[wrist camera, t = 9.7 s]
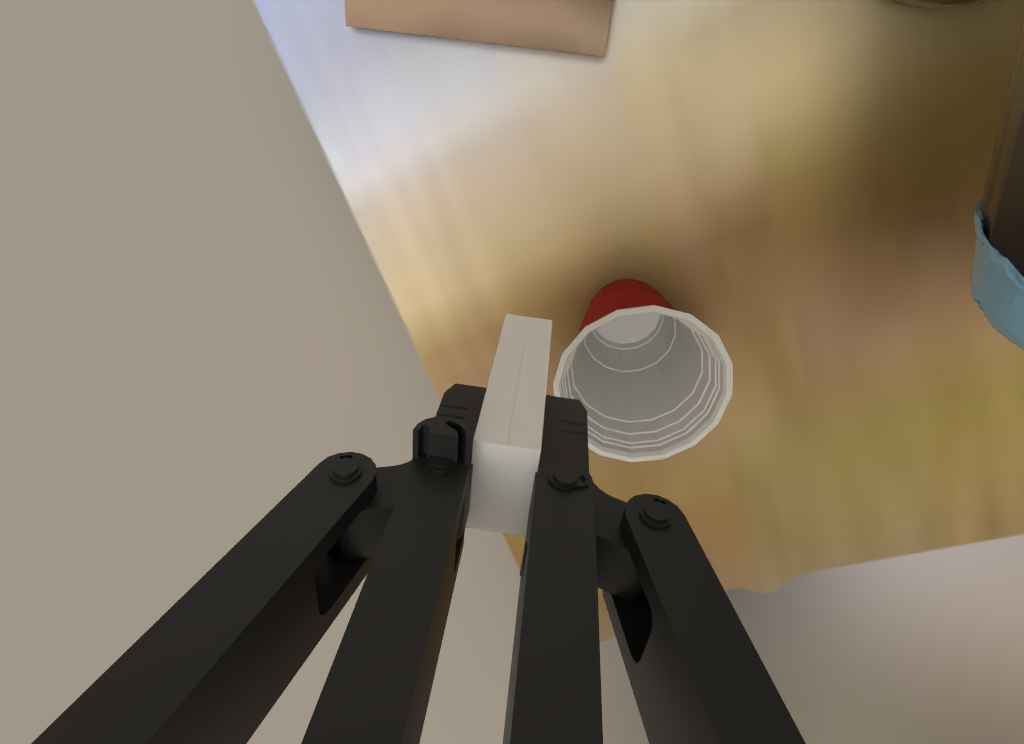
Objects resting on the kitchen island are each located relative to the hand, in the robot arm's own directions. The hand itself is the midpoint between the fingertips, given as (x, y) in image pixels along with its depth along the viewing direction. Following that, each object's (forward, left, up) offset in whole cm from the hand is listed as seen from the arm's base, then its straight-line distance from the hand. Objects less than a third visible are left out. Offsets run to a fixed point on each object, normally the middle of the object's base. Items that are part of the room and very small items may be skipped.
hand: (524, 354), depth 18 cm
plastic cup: (+2, +11, -25) cm, 27 cm away
